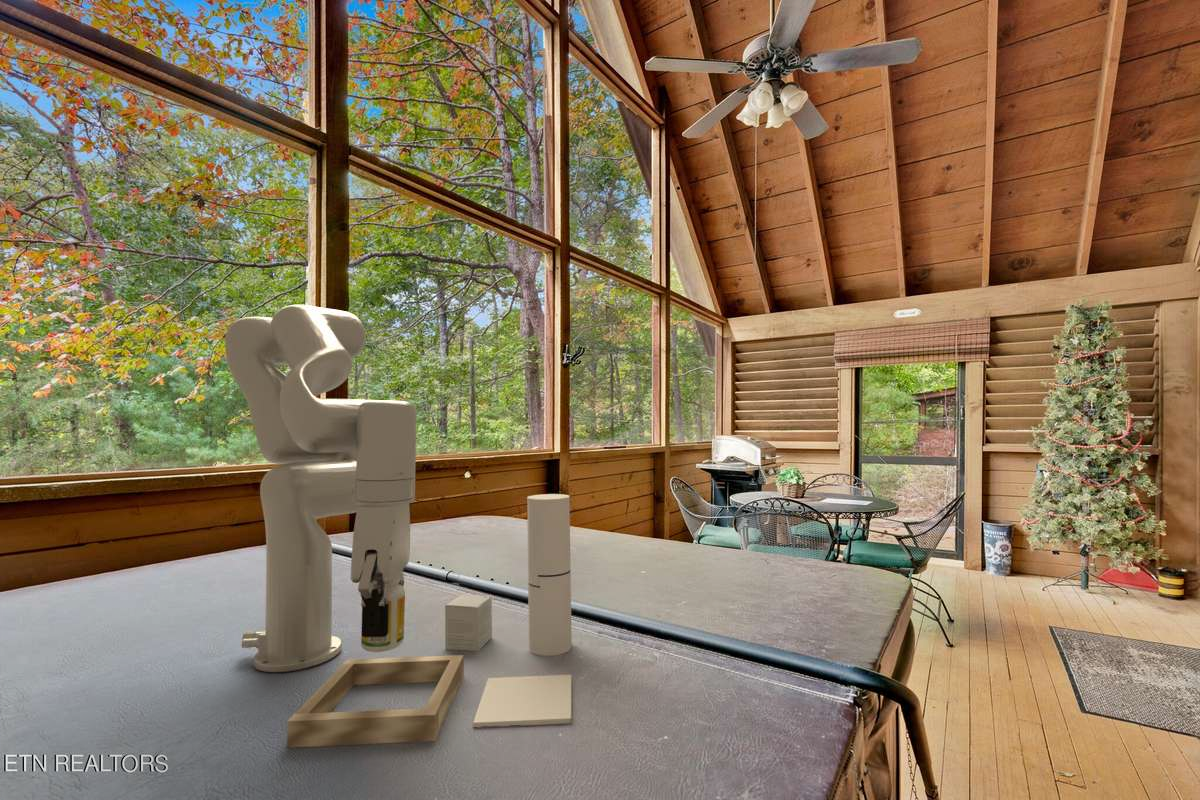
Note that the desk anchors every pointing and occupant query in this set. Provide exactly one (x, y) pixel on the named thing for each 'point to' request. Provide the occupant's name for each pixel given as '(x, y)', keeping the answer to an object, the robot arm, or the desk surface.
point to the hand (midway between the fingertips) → (383, 625)
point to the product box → (468, 622)
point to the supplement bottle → (395, 618)
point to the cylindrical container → (549, 574)
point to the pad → (525, 701)
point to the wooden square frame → (377, 726)
